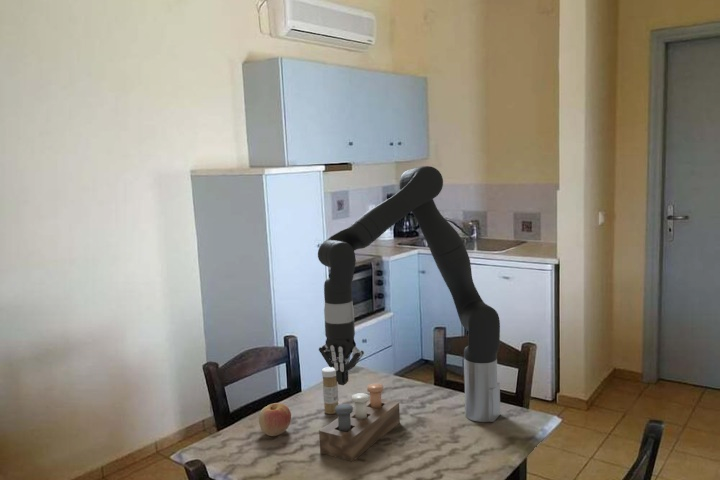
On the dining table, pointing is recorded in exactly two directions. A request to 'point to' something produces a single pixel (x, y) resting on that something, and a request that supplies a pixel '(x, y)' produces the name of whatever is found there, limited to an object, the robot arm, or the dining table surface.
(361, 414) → the cream plug
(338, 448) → the walnut block
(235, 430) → the dining table surface
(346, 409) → the charcoal plug
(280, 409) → the apple
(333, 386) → the sprinkles bottle
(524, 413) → the dining table surface
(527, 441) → the dining table surface
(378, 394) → the terracotta plug
